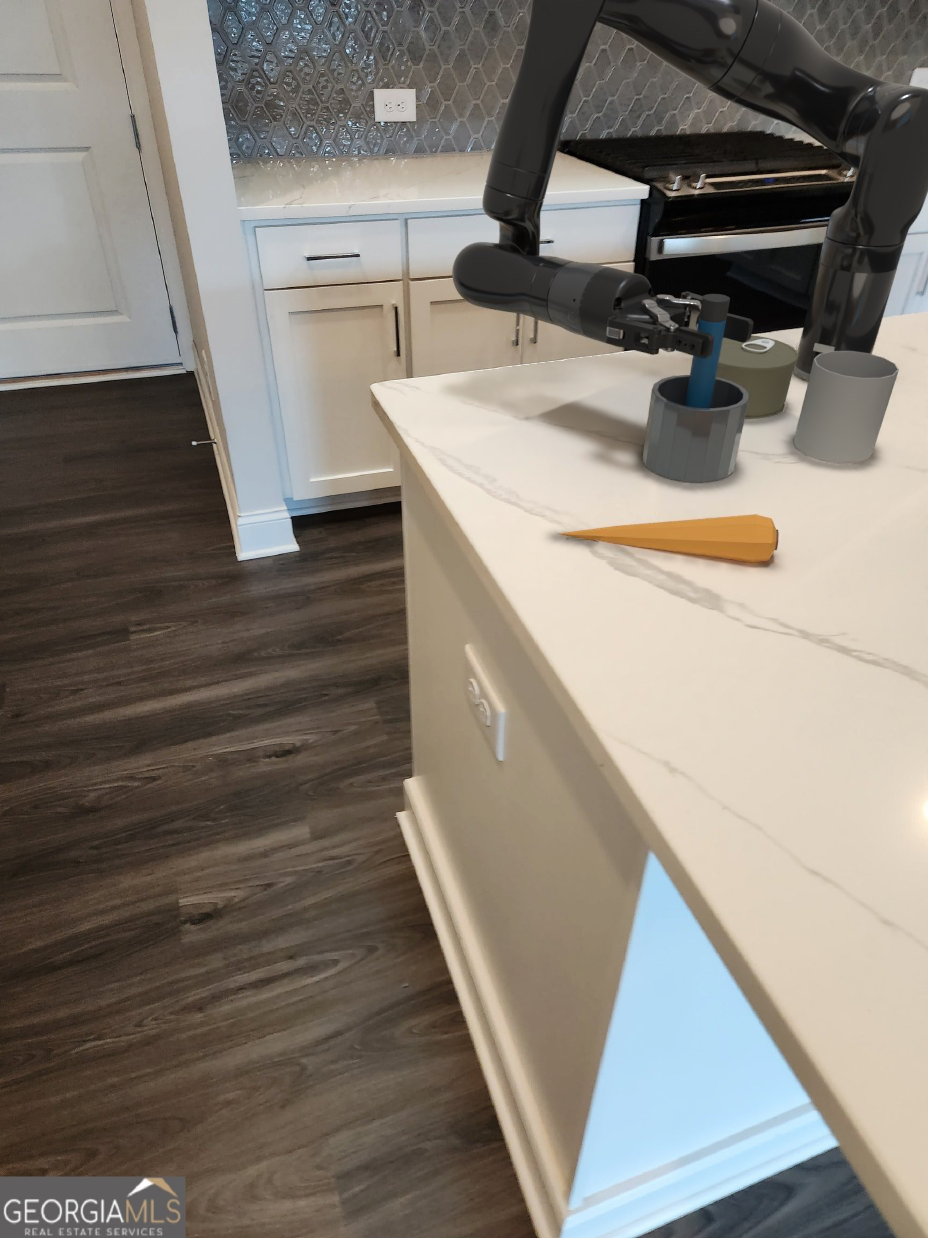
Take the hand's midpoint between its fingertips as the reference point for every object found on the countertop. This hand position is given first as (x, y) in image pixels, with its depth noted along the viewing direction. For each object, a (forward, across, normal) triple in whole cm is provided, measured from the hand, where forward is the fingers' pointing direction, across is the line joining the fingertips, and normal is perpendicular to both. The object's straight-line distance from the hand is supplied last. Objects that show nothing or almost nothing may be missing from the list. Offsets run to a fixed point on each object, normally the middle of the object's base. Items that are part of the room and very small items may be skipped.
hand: (730, 339), depth 81 cm
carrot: (+6, -16, +15) cm, 22 cm away
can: (-8, +19, +15) cm, 25 cm away
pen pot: (-2, 0, +14) cm, 15 cm away
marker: (-2, 0, +14) cm, 14 cm away
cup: (+7, +15, +15) cm, 22 cm away
